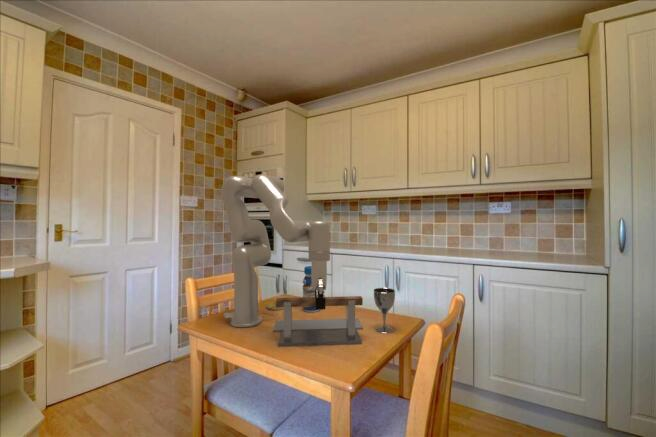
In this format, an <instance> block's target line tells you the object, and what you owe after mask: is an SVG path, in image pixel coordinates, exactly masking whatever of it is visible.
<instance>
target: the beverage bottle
mask: <svg viewBox="0 0 656 437" xmlns="http://www.w3.org/2000/svg"><path fill="white" fill-rule="evenodd" d="M303 272H304V278H303V280H302V283H303V285H302V298H303V297H315V291H316V290H314V291H313V290H312V279H311V265H308V266H307V265H306V266H305V267H304V271H303ZM302 310H303V311H304V312H307V313H316V312H317V313H318V312H319V311H320V310H317V309H316V306H312V307H302Z"/></svg>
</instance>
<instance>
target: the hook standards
mask: <svg viewBox="0 0 656 437" xmlns="http://www.w3.org/2000/svg"><path fill="white" fill-rule="evenodd" d="M292 308H293V307H291V301H288V302H284V309H283V320H284V332H279V336H278V340H277V347H279V348H281V347H305V346H306V347H307V346H330V345H331V346H337V345H338V346H339V345H343V346H344V345H358V344H359V345H361V344H363V343H362V342H363V339H362V338H361V336H360V334H359V331H358V329H355V318H356V305H355V300H348V306H345V308H346V310H345V315H346V316H345V319H346V330H320V331H292V320H293V319H292V318H293V315H292V314H293V311H292V310H293V309H292Z"/></svg>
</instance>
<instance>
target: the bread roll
mask: <svg viewBox="0 0 656 437" xmlns="http://www.w3.org/2000/svg"><path fill="white" fill-rule="evenodd" d="M266 309H267V310H269V311H282V310H284V307H276V299H270V300H269V301H267V303H266Z"/></svg>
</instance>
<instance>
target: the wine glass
mask: <svg viewBox="0 0 656 437" xmlns="http://www.w3.org/2000/svg"><path fill="white" fill-rule="evenodd" d="M395 296H396V291H395V289H393V288H388V287H378V288H377V287H376V288H373V300H374V304H375V306H376V307H377V309H378V310H379V311H380V312H381V314H382V321H383V324H382V325H381V326H377V327H375V329H374V330H375V332H378V333H381V334H391V333H393V332H395V329H394V328H393V327H390V326H387V324H386V320H387V319H386V318H387V314H388V312H389V311H390V310H391V309H392V308H393V306H394V304H395V299H396V297H395Z"/></svg>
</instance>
